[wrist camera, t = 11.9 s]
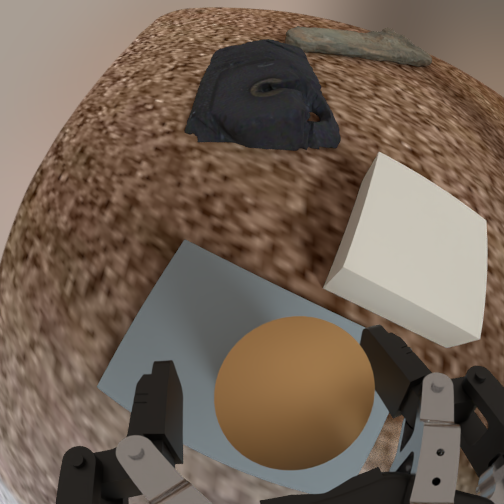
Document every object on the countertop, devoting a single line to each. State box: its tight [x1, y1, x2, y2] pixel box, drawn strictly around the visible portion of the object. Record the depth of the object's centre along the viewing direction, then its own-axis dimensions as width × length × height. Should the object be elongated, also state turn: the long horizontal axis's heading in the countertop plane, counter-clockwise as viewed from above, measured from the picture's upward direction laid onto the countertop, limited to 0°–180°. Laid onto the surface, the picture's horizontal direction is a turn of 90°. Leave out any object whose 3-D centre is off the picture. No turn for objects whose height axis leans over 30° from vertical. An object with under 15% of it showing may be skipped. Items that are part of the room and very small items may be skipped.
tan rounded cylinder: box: [214, 316, 375, 470], centre depth 11 cm, size 5×5×9 cm
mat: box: [97, 240, 411, 494], centre depth 16 cm, size 12×18×1 cm, turn 63°
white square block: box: [323, 152, 487, 348], centre depth 18 cm, size 11×12×4 cm
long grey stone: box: [285, 26, 432, 67], centre depth 36 cm, size 35×5×10 cm
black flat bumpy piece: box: [185, 39, 341, 151], centre depth 27 cm, size 15×22×5 cm
